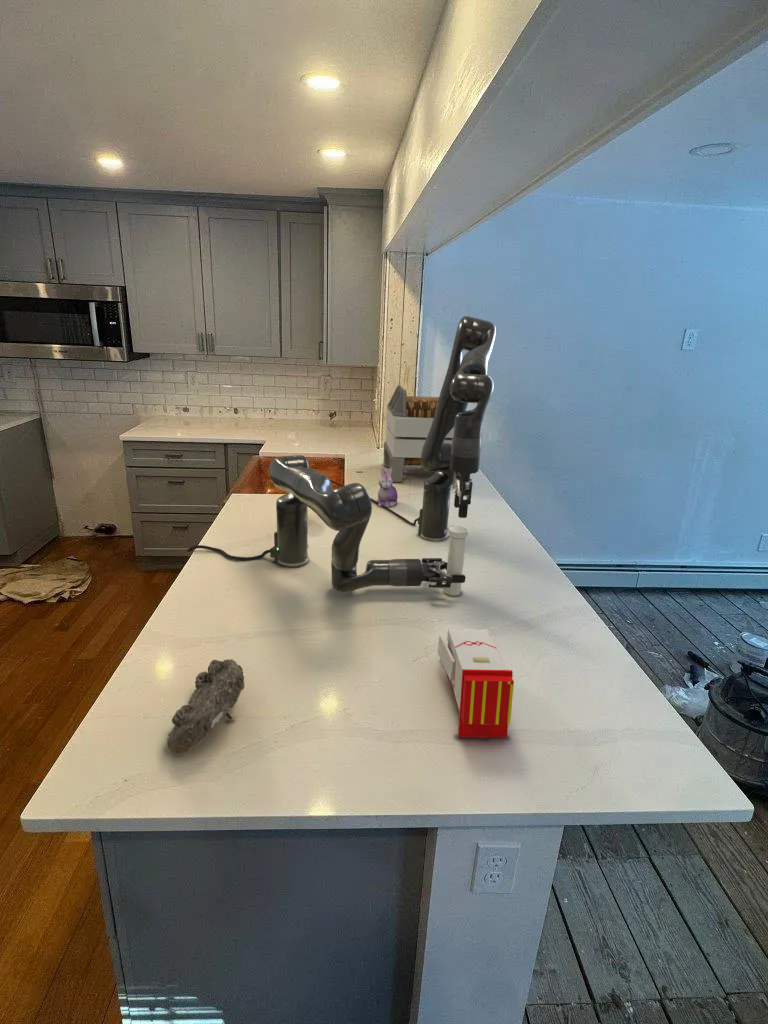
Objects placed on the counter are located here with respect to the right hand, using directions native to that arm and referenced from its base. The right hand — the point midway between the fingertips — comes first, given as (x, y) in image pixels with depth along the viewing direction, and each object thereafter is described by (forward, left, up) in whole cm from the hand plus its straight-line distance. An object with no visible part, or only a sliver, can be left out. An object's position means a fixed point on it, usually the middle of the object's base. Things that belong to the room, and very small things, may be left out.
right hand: (460, 512), depth 152 cm
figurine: (-58, +50, -24) cm, 80 cm away
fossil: (-11, -75, -24) cm, 79 cm away
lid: (0, 0, -5) cm, 5 cm away
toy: (+24, -37, -24) cm, 51 cm away
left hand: (+2, +1, -18) cm, 18 cm away
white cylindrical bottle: (0, 0, -24) cm, 24 cm away
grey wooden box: (-72, +98, -24) cm, 124 cm away
